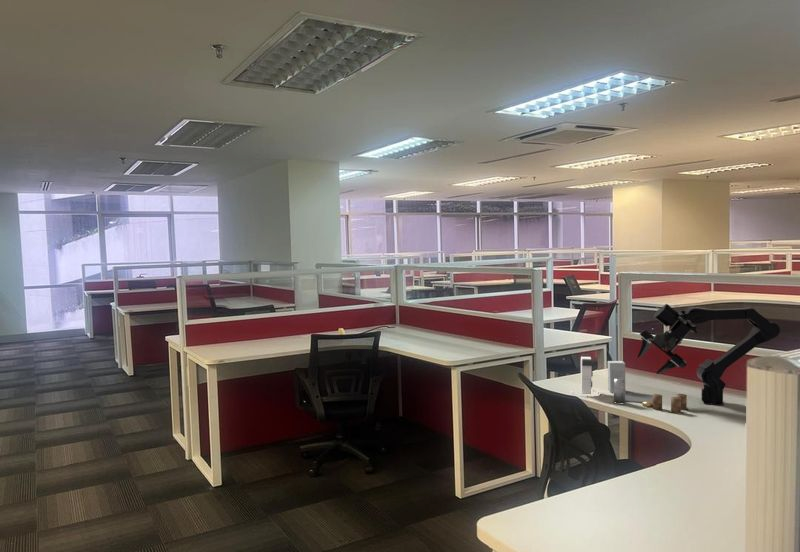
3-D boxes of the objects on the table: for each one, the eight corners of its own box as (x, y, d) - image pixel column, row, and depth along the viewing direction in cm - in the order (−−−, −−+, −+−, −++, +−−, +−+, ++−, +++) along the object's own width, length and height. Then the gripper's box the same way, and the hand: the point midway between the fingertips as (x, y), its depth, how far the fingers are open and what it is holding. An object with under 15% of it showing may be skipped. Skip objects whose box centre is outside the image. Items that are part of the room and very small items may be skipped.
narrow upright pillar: (602, 398, 223) (602, 360, 222) (571, 396, 226) (571, 359, 225) (599, 390, 234) (599, 354, 233) (570, 389, 237) (570, 353, 236)
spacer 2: (680, 411, 204) (680, 397, 204) (681, 413, 201) (681, 399, 201) (670, 410, 206) (670, 396, 205) (671, 412, 203) (671, 398, 202)
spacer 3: (686, 407, 208) (686, 394, 208) (686, 410, 205) (686, 396, 205) (676, 407, 209) (676, 393, 209) (676, 409, 206) (676, 395, 206)
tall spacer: (625, 401, 218) (625, 378, 217) (624, 404, 214) (625, 380, 213) (614, 400, 219) (614, 377, 219) (613, 403, 216) (613, 379, 215)
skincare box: (622, 389, 235) (622, 360, 234) (625, 392, 230) (625, 362, 230) (607, 389, 235) (607, 360, 235) (610, 392, 231) (610, 362, 230)
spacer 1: (662, 408, 209) (662, 394, 208) (662, 410, 206) (662, 396, 205) (652, 407, 210) (652, 393, 210) (652, 409, 207) (652, 395, 207)
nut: (654, 405, 213) (654, 401, 213) (654, 408, 209) (654, 404, 209) (642, 404, 214) (642, 400, 214) (642, 407, 211) (642, 403, 211)
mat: (654, 395, 225) (654, 394, 225) (654, 404, 214) (654, 403, 214) (621, 393, 229) (621, 392, 229) (619, 401, 218) (619, 400, 218)
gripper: (649, 313, 216) (621, 345, 219) (690, 344, 203) (660, 377, 206) (658, 322, 224) (631, 352, 226) (699, 352, 211) (669, 383, 213)
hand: (647, 365), depth 218 cm, fingers open, 9 cm apart
